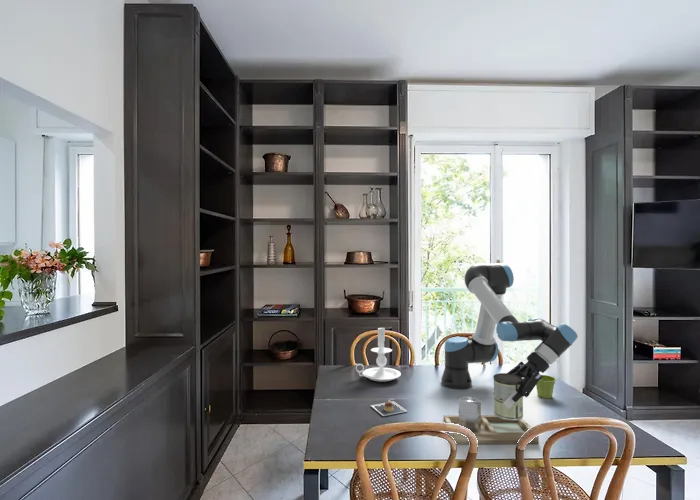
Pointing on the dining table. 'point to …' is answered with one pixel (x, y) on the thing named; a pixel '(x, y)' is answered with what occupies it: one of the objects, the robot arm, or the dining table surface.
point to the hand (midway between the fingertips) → (500, 400)
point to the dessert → (388, 407)
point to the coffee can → (502, 390)
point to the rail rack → (493, 430)
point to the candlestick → (380, 363)
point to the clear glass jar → (470, 413)
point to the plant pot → (545, 386)
